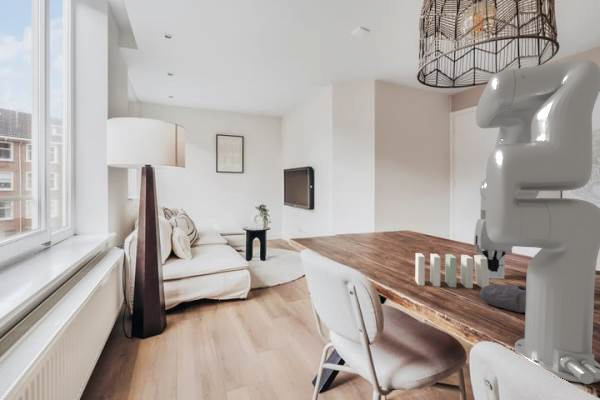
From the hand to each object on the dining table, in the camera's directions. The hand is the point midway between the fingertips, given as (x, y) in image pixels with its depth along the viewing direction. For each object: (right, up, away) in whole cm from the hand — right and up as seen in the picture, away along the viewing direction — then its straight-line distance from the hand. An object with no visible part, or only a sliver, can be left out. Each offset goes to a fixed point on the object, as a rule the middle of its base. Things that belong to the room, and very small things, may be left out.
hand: (492, 270), depth 94 cm
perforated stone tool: (-6, -7, -17) cm, 19 cm away
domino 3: (-13, -6, +3) cm, 14 cm away
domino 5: (-3, -6, +1) cm, 6 cm away
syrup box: (+7, -5, +11) cm, 14 cm away
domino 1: (-22, -6, +5) cm, 24 cm away
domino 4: (-8, -6, +2) cm, 10 cm away
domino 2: (-17, -6, +4) cm, 19 cm away
